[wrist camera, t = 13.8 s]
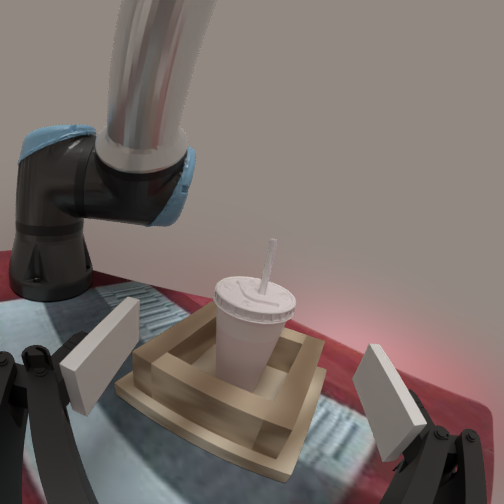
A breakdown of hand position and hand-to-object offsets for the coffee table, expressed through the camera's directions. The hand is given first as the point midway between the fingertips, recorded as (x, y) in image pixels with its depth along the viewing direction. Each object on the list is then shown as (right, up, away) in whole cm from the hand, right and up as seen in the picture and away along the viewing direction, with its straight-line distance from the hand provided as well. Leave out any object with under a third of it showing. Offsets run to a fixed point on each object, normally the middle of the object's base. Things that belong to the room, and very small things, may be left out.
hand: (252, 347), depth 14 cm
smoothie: (-2, -7, +9) cm, 12 cm away
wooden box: (-2, -8, +10) cm, 13 cm away
